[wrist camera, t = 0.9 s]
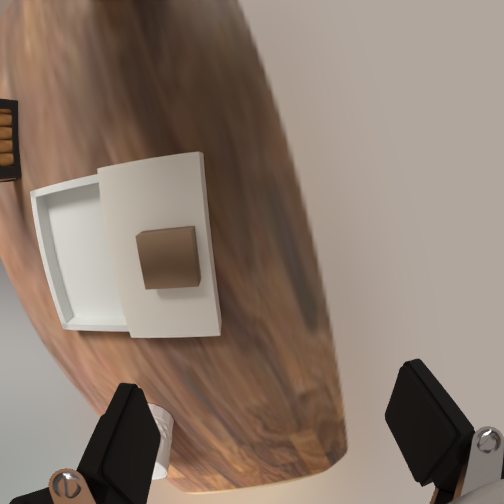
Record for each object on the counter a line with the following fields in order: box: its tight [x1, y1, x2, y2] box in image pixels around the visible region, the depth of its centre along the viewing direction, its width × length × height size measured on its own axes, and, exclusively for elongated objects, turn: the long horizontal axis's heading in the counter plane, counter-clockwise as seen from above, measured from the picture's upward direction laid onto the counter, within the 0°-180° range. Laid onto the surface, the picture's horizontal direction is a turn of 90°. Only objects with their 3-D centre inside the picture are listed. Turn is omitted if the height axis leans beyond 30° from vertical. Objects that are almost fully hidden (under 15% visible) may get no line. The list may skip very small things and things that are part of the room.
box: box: [30, 174, 129, 332], centre depth 27 cm, size 17×10×2 cm, turn 4°
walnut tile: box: [135, 226, 201, 290], centre depth 25 cm, size 5×5×2 cm
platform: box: [97, 151, 222, 338], centre depth 27 cm, size 18×10×3 cm, turn 4°
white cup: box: [148, 403, 174, 480], centre depth 31 cm, size 8×8×10 cm
